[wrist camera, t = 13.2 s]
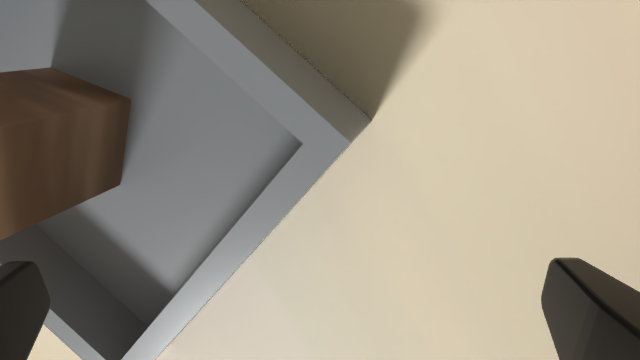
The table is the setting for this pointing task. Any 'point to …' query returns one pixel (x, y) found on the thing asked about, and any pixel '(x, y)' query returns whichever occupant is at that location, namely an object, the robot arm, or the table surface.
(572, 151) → the table surface
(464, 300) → the table surface
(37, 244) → the box
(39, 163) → the brown tall block
